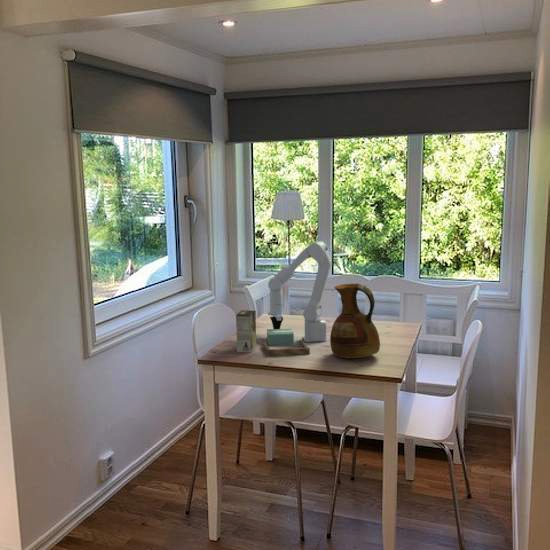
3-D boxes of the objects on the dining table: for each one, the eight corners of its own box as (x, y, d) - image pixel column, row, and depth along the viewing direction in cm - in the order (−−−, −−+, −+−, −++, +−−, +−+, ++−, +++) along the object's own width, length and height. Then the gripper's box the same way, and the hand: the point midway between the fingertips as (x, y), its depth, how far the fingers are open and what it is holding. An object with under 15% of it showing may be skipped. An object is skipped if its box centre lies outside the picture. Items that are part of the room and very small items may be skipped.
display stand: (302, 344, 258) (302, 339, 258) (309, 354, 245) (309, 348, 244) (262, 346, 256) (262, 341, 255) (267, 356, 242) (267, 350, 241)
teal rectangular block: (291, 339, 268) (291, 328, 267) (293, 344, 259) (293, 333, 259) (266, 340, 267) (266, 329, 267) (268, 345, 258) (268, 334, 258)
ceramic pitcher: (337, 347, 254) (337, 278, 249) (384, 352, 247) (385, 281, 242) (323, 360, 236) (324, 286, 231) (374, 365, 229) (375, 289, 224)
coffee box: (242, 346, 257) (241, 309, 255) (256, 346, 256) (256, 310, 253) (236, 352, 248) (235, 314, 246) (251, 352, 247) (250, 315, 244)
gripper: (265, 300, 276) (265, 329, 279) (270, 307, 262) (270, 336, 264) (280, 300, 278) (280, 328, 280) (285, 306, 263) (286, 336, 266)
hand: (276, 332), depth 272 cm, fingers closed
